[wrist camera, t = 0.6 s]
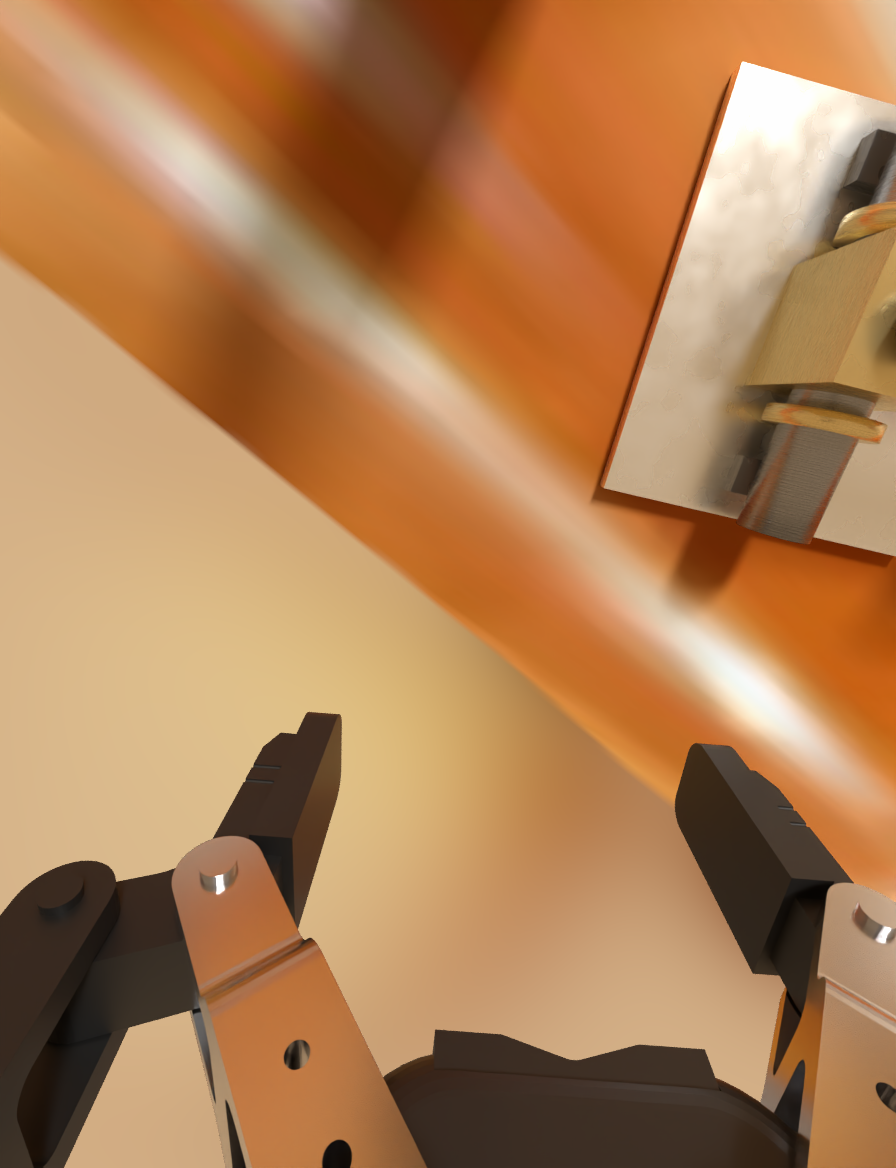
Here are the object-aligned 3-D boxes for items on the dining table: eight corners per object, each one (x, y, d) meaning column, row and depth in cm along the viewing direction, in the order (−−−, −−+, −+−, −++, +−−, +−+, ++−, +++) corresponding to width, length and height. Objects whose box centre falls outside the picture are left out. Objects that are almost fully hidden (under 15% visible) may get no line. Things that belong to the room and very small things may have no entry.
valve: (731, 74, 30) (848, -64, 21) (1096, 177, 32) (1352, 89, 22) (599, 485, 38) (643, 513, 29) (895, 554, 39) (1024, 601, 30)
